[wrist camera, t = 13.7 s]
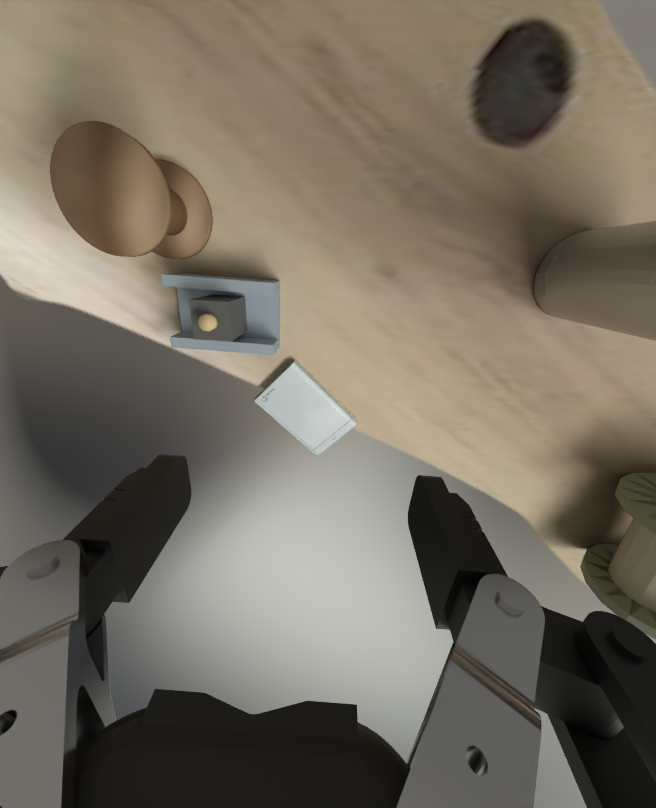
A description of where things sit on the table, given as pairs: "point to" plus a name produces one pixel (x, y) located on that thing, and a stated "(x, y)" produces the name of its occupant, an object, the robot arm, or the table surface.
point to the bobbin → (127, 195)
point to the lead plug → (218, 317)
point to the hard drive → (305, 408)
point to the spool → (629, 557)
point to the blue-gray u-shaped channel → (259, 311)
